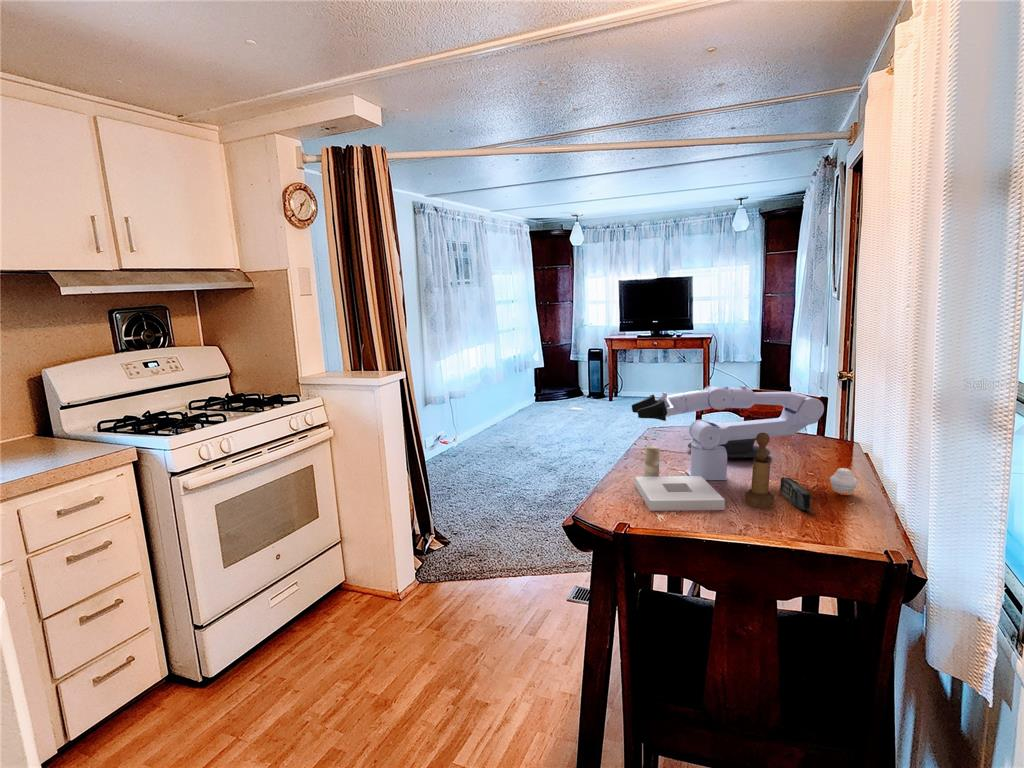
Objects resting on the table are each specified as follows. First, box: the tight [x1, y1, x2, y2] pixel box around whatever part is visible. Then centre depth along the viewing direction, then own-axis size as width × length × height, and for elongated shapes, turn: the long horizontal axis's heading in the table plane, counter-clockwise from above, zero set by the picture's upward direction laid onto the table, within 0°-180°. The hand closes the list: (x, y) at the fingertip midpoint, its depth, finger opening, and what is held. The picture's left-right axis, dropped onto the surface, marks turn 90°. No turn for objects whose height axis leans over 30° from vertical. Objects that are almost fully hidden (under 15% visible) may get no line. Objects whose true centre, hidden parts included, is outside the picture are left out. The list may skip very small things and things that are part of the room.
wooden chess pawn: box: [744, 433, 775, 509], centre depth 137 cm, size 7×6×18 cm
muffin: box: [829, 467, 858, 494], centre depth 143 cm, size 6×6×7 cm
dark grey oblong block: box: [779, 477, 815, 515], centre depth 138 cm, size 5×3×15 cm
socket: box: [634, 475, 726, 512], centre depth 144 cm, size 18×18×2 cm
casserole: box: [687, 438, 771, 460], centre depth 180 cm, size 25×19×8 cm
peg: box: [643, 445, 661, 477], centre depth 158 cm, size 4×4×9 cm
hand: (635, 411), depth 156 cm, fingers open, 7 cm apart
